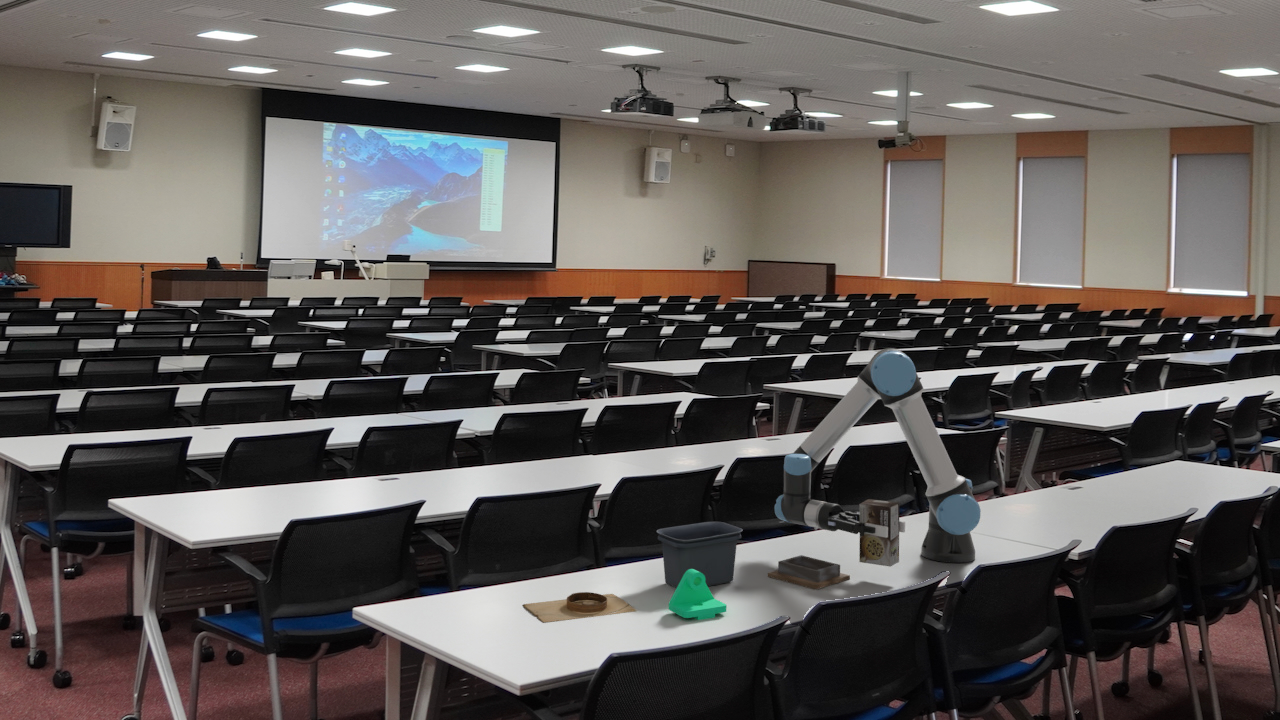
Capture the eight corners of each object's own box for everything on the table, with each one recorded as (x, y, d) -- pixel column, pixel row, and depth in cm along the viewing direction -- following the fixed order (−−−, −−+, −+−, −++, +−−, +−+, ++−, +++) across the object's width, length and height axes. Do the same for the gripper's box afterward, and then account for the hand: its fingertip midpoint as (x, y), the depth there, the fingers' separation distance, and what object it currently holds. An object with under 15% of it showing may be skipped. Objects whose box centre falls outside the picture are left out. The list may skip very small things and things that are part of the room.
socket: (801, 566, 322) (802, 552, 321) (849, 578, 310) (850, 564, 310) (767, 576, 311) (768, 561, 311) (815, 589, 300) (816, 574, 299)
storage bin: (679, 595, 292) (680, 540, 291) (646, 580, 305) (647, 527, 304) (746, 584, 304) (748, 530, 302) (711, 570, 317) (713, 518, 315)
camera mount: (684, 623, 271) (685, 579, 270) (668, 613, 278) (669, 571, 277) (727, 616, 277) (729, 573, 276) (710, 607, 284) (711, 566, 283)
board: (614, 596, 293) (614, 583, 293) (640, 613, 279) (641, 600, 279) (521, 607, 282) (521, 594, 282) (543, 626, 268) (544, 612, 268)
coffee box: (900, 561, 309) (900, 502, 307) (890, 567, 304) (891, 506, 302) (868, 556, 314) (868, 498, 312) (858, 562, 309) (858, 502, 307)
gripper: (846, 523, 328) (916, 537, 312) (802, 535, 314) (873, 550, 298) (846, 497, 327) (917, 509, 311) (802, 507, 313) (874, 521, 297)
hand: (895, 529), depth 304 cm, fingers closed on coffee box, 7 cm apart
